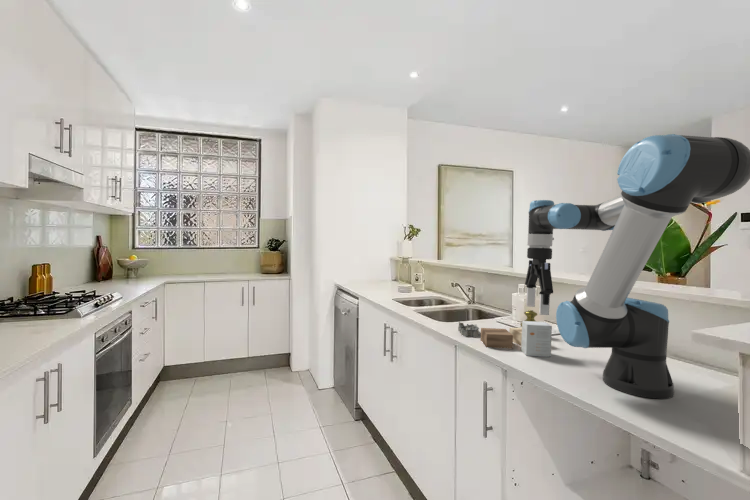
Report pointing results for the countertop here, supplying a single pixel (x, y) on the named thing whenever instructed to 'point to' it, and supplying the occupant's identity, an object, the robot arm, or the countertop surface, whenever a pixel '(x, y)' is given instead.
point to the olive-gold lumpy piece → (530, 316)
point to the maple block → (516, 335)
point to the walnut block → (496, 338)
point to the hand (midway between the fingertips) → (536, 310)
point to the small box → (536, 338)
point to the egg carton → (468, 330)
